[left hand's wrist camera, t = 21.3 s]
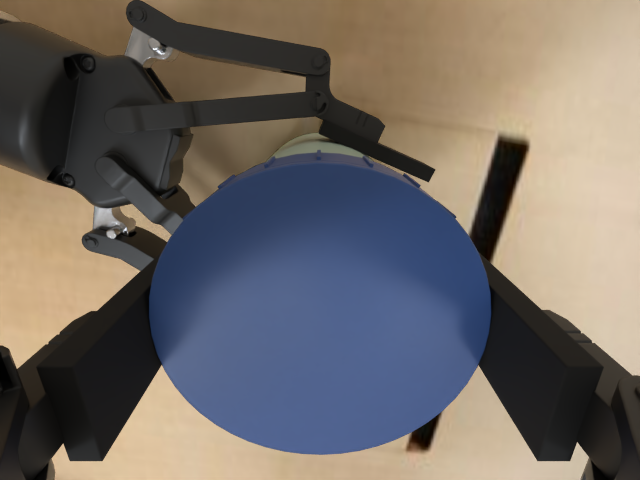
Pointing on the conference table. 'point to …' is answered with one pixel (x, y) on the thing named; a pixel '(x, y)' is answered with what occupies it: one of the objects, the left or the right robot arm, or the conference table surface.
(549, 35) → the conference table surface
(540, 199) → the conference table surface
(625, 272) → the conference table surface
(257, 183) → the lid
